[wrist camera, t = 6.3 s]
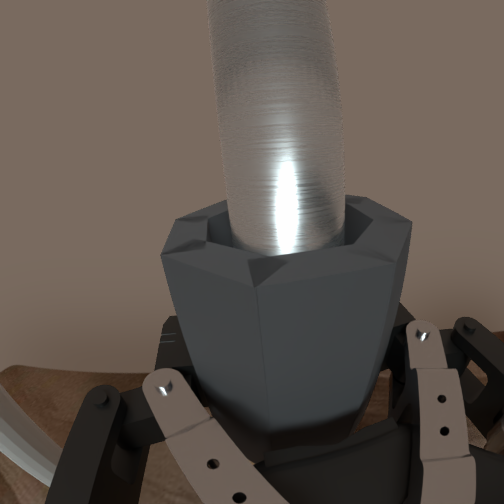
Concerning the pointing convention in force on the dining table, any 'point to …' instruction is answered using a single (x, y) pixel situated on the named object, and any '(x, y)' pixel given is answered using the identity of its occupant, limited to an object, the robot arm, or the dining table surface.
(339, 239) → the post
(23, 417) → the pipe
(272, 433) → the collar
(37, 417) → the dining table surface
